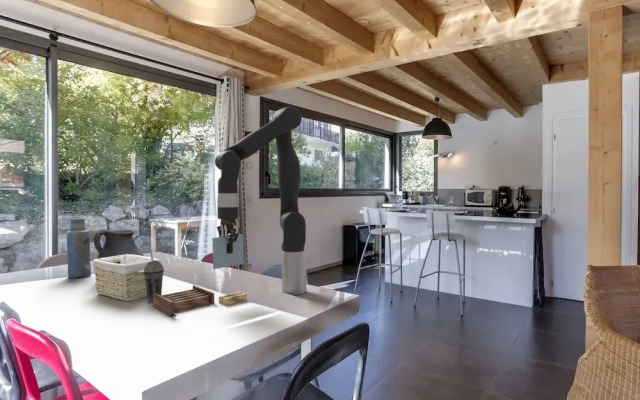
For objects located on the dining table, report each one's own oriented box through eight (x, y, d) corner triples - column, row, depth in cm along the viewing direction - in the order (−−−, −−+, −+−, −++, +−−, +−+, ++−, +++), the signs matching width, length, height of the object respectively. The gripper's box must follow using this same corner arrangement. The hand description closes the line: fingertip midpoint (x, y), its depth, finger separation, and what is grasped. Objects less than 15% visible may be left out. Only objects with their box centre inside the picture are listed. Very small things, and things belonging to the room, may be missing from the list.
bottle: (83, 278, 183) (81, 217, 182) (63, 278, 183) (61, 217, 182) (95, 274, 192) (93, 215, 191) (76, 274, 192) (74, 216, 192)
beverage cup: (168, 299, 146) (167, 248, 145) (155, 304, 139) (153, 250, 138) (153, 297, 148) (152, 247, 148) (139, 302, 141) (138, 250, 141)
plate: (242, 263, 142) (241, 234, 142) (244, 263, 141) (243, 234, 141) (213, 268, 134) (212, 237, 133) (214, 269, 133) (213, 238, 132)
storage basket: (163, 293, 154) (162, 258, 154) (124, 304, 141) (123, 264, 140) (129, 286, 167) (129, 253, 167) (91, 295, 154) (90, 259, 153)
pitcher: (153, 277, 183) (152, 226, 182) (108, 287, 164) (106, 231, 164) (129, 273, 194) (128, 225, 193) (84, 282, 175) (83, 228, 175)
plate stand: (239, 300, 143) (239, 291, 143) (247, 303, 140) (247, 293, 139) (218, 305, 137) (218, 296, 137) (225, 308, 133) (225, 298, 133)
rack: (195, 297, 148) (194, 285, 147) (214, 306, 136) (214, 292, 136) (153, 306, 136) (152, 293, 136) (170, 317, 125) (170, 302, 125)
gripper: (246, 205, 135) (247, 254, 135) (227, 205, 144) (228, 250, 145) (228, 206, 129) (229, 256, 130) (209, 205, 139) (210, 252, 140)
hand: (228, 253), depth 137 cm, fingers closed on plate, 1 cm apart
